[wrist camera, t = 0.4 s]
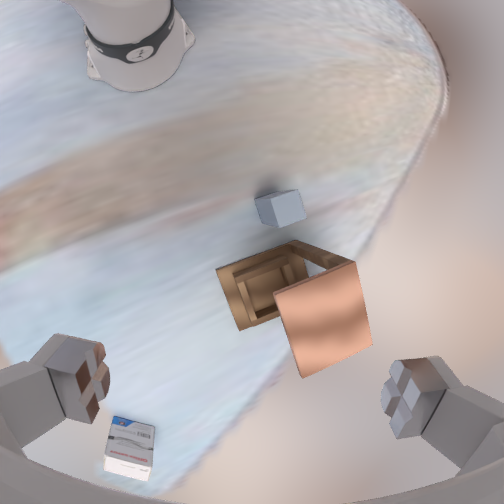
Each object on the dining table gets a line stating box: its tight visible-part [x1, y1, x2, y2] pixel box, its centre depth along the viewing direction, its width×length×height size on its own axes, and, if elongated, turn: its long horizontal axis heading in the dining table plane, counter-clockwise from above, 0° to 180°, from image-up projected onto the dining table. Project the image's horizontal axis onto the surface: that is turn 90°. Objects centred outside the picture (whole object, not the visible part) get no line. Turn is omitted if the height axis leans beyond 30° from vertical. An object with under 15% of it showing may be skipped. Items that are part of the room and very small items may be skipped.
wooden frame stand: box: [216, 240, 372, 378], centre depth 43 cm, size 11×14×20 cm
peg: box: [254, 189, 307, 228], centre depth 46 cm, size 4×4×10 cm
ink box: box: [103, 416, 155, 481], centre depth 46 cm, size 8×5×12 cm, turn 71°
